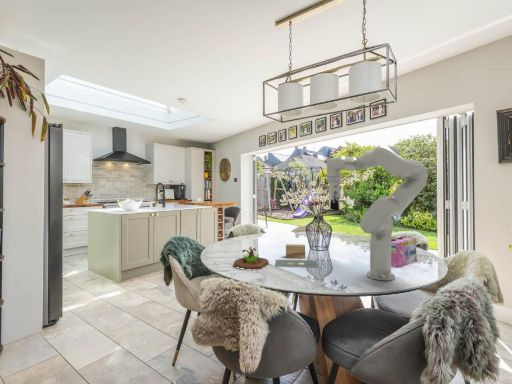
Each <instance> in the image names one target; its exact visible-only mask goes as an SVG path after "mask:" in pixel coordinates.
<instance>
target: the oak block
mask: <svg viewBox="0 0 512 384" xmlns="http://www.w3.org/2000/svg"><path fill="white" fill-rule="evenodd" d="M285 259H295V260H302V259H303V260H306V244H294V243H293V244H291V243H289V244H287V243H285Z"/></svg>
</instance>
